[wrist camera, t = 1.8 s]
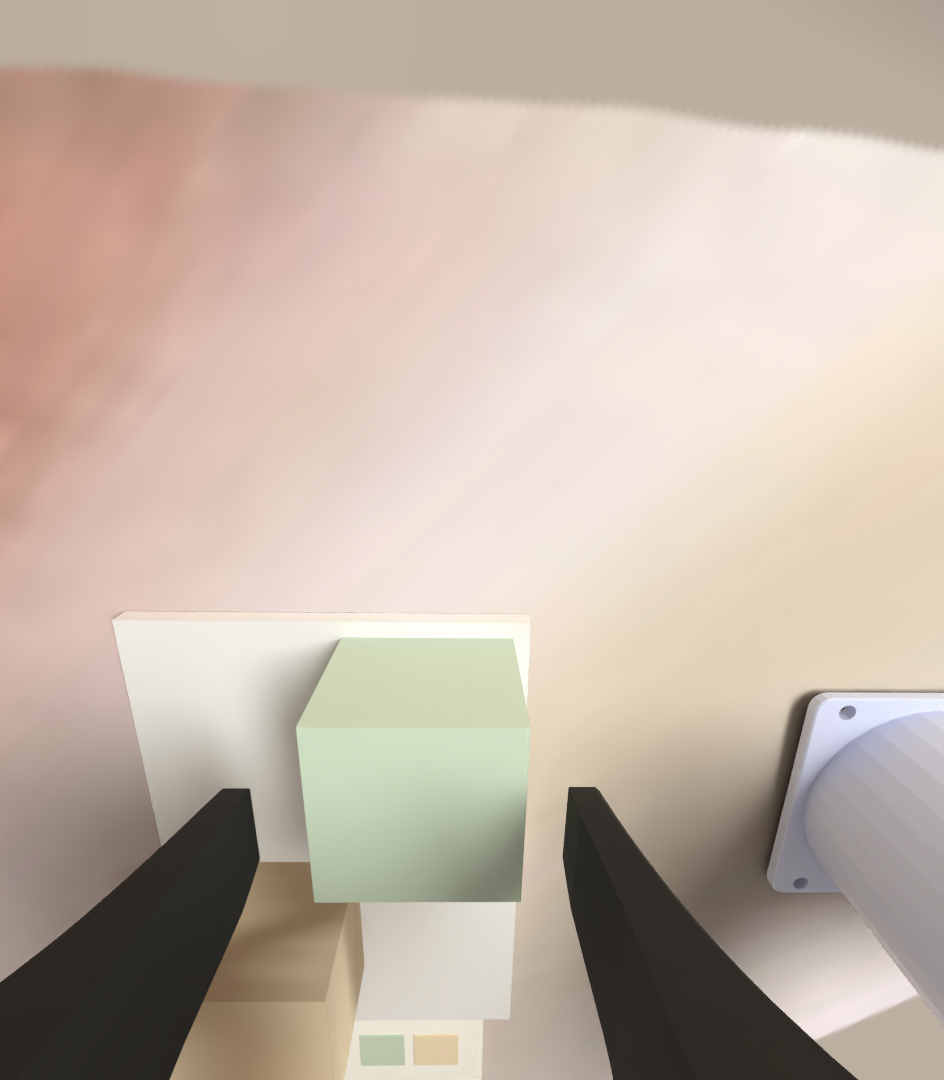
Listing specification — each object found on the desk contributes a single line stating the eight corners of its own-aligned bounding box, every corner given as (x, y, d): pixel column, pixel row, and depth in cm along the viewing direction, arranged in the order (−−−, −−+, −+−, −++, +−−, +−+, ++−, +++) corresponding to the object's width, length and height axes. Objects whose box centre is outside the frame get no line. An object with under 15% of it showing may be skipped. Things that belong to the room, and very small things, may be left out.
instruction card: (483, 1009, 20) (483, 1017, 20) (481, 1073, 21) (481, 1081, 21) (334, 1010, 20) (332, 1018, 19) (340, 1074, 21) (339, 1082, 21)
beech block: (356, 861, 17) (324, 1001, 13) (364, 965, 18) (337, 1119, 14) (209, 862, 17) (132, 1002, 13) (228, 966, 18) (164, 1120, 14)
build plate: (528, 614, 15) (531, 623, 14) (508, 1001, 20) (509, 1019, 19) (126, 611, 15) (111, 619, 14) (207, 1002, 19) (199, 1021, 19)
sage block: (513, 638, 14) (530, 728, 10) (507, 777, 16) (520, 901, 12) (341, 637, 14) (295, 727, 10) (351, 778, 16) (314, 902, 12)
